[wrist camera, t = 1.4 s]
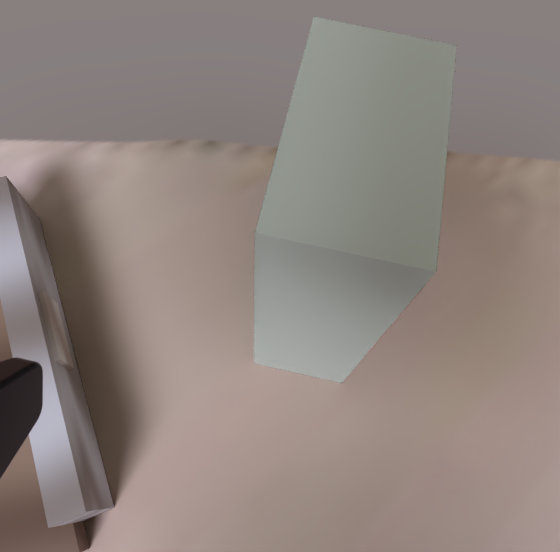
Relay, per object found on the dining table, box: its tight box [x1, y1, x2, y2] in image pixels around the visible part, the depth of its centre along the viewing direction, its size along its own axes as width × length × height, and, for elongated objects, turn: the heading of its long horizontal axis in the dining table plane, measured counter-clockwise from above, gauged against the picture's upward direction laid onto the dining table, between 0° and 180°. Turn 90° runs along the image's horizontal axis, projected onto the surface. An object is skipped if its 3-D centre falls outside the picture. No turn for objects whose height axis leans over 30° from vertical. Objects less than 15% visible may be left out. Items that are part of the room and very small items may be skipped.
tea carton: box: [254, 17, 457, 383], centre depth 17 cm, size 7×4×12 cm, turn 168°
